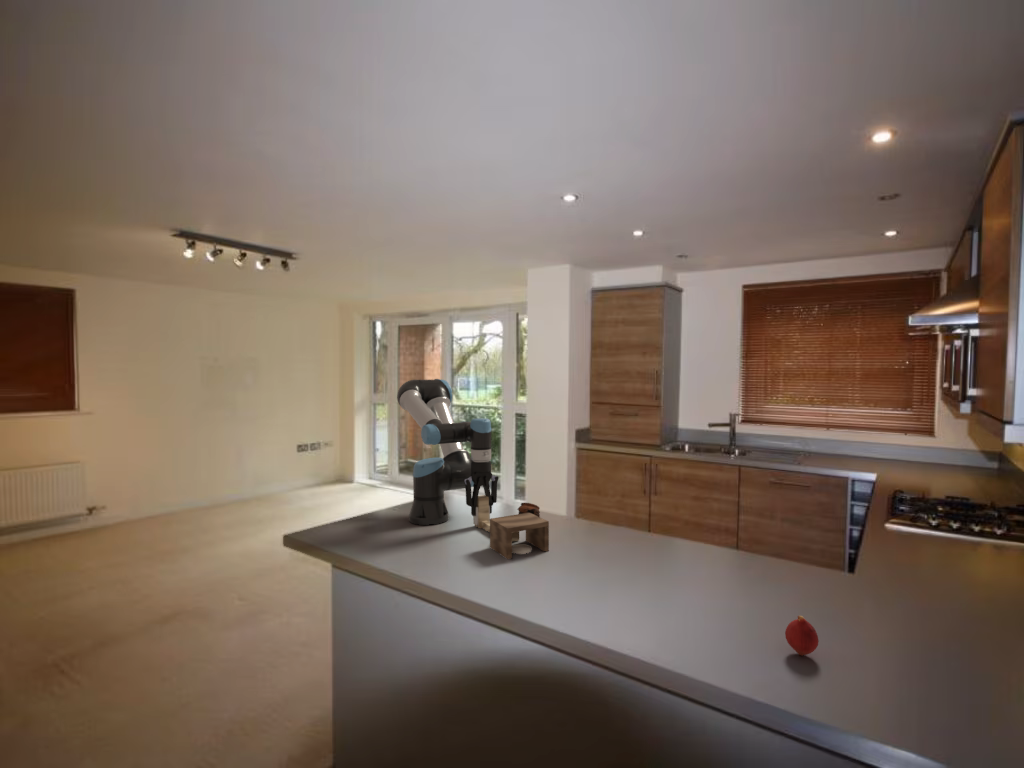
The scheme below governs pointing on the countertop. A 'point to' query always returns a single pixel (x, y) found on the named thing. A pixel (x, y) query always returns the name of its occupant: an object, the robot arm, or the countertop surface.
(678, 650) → the countertop surface
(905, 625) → the countertop surface
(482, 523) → the wooden mallet
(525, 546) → the ceramic disc
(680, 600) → the countertop surface
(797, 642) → the onion
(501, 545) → the walnut bench
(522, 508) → the pottery mug
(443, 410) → the robot arm
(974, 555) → the countertop surface
